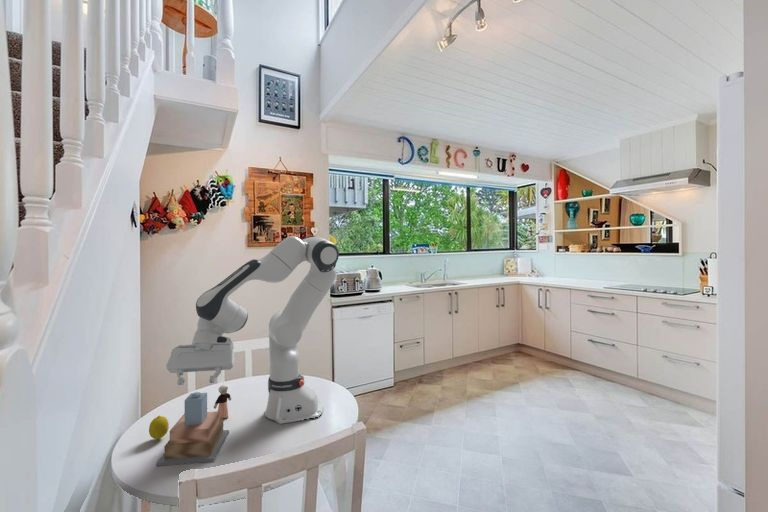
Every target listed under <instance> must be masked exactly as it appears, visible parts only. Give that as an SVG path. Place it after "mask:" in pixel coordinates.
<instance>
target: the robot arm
mask: <svg viewBox="0 0 768 512" xmlns="http://www.w3.org/2000/svg"><path fill="white" fill-rule="evenodd" d="M339 251H340V250H339V248H338V246H337V245H336V244H335V243H334V242H332V241H331V240H328V239H326V238H323V237H318V236H314V235H312V236H311V235H310V236H306V237H303V238H299V237H298V236H294V235H290V236H287V237H286V238H284V239H283V240H282V241H280V242H279V243H278V244H277V245H276V246H274V247H273V248H272V249H271V250H270V251H269V252H268V253H267V254H266V255H265V256H263V257H261V258H258V259H251V260H249V261H248V262H246V263H244V264H243V265H241V266H240V267H239V268H237V269H236V270H235V271H233V272H232V273H231V274H229V276H227V277H226V278H225V279H223V280H222V281H220V283H218V284H217V285H215V286H213V287H212V288H210V289H208V290H207V291H205V292H203V293H202V294H201V295H200V296H199V297H198V298H197V300H196V303H195V311H196V315H197V316H198V317H199V318H198V320H197V329H196V331H195V332H194V335H193V338H192V342H191V344H180V345H177V346H175V347H174V348H172V349H171V352H170V356H169V359H168V361H167V362H166V365H165V366H166V367H165V368H166V370H167V371H168V372H169V373H170V374H176V376H177V378H178V379H177V383H176V384H177V385H178V386H183V385H185V382H186V379H185V378H184V377H182V376H184V373H195V372H196V373H197V372H212V371H215V372H214V374H213V375H210V376H209V380H208V381H209V384H215V383H216V381H217V378H218V377H219V376H220V375H221V374H222V371H225V370H227V371H228V370H232V369H233V368H234V366H235V361H236V360H235V359H236V358H235V357H236V356H235V355H236V354H235V352H234V350H235V349H234V348H235V345H234V342H233V340H232V339H231V338H230V337H227V336H223V335H224V334H226V335H227V334H231V333H235V332H236V333H237V332H238V331H240V330H242V329H243V328H244V327H245V325H246V324H247V321H248V320H249V319H248V317H249V312H248V310H247V309H246V308H245V307H244V306H242V305H241V304H239V303H238V302H235V300H232V299H231V298H230V297H229V296H230V295H232V294H233V293H235V291H237V290H238V289H239V288H241V287H242V286H243V285H244V284H245V283H247V282H250V281H255V280H258V281H261V282H266V283H269V284H270V283H271V284H272V283H273V284H275V283H276V284H278V283H280V282H283V281H285V280H286V279H287V278H288V277H289V276H290V275H291V274H292V273H293V272H294V270H295V269H296V268H297V267H298V266H299V265H300V264H302V263H304V262H307V263H309V264H310V266H309V267H310V268H309V270H308V272H307V274H306V275H305V277H304V278H303V279H302V280H301V282H300V283H299V284H298V285H297V287H296V289H295V290H294V291H293V293H292V294H291V295H290V298H289V299H288V301H287V304H286V305H285V307H284V309H283V310H281V311H277V312H275V313H273V315H272V316H271V318H270V319H269V323H268V343H269V377H268V380H267V391H268V399H267V402H266V403H267V405H266V409H265V411H264V415H265V417H266V418H267V419H269V420H271V421H275V422H276V423H277V424H281V425H282V424H288V423H293V422H300V420H301V421H305V420H304V419H307V420H310V419H309V418H314V419H316V418H315V417H318V418H320V417H321V416H322V415H321V413H322V411H323V412H324V403H323V402H322V401H321V400H320V399H318V395H317V393H316V391H315V389H314V388H311V387H310V386H308V385H307V384H306V383H305V377H304V374H302V375H301V374H300V363H299V362H300V353H299V345H298V343H299V342H300V340H301V338H302V336H303V333H304V331H305V330H306V327H307V325H308V324H309V322H310V320H311V318H312V315H314V313H315V311H316V310H317V308H318V306H319V305H320V304H321V302H322V301H323V300H324V298H325V296H326V295H327V294H328V292H329V290H330V289H331V287H332V286H333V283H334V282H335V279H336V278H337V277H336V276H337V272H336V269H335V268H336V266H337V262H338V260H339V255H340V253H339ZM318 402H322V403H318ZM319 412H320V413H319ZM322 414H323V413H322ZM320 415H321V416H320ZM319 416H320V417H319Z"/></svg>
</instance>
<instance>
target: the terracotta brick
mask: <svg viewBox="0 0 768 512" xmlns="http://www.w3.org/2000/svg"><path fill="white" fill-rule="evenodd" d="M184 422H185V412H184V413H183V414H182V416H181V417H180V418H179V419H178V420H177V422H176V423H175V424H174V425H173V426H172V428H171V429H170V430H169V440H168V441H167V443H166V444H165V445H164V446H163V447H164V450H163V451H164V453H163V454H164V459H174V458H187V457H200V456H211V454H212V452H213V450H214V449H215V447H216V445H217V443H218V441H219V440H220V438H221V436H222V434H223V430H224V420H223V421H219V411H218V410H216V411H207V417H206V419H205V420H204V422H203V423H202V424H199V425H184Z"/></svg>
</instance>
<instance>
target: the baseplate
mask: <svg viewBox="0 0 768 512" xmlns="http://www.w3.org/2000/svg"><path fill="white" fill-rule="evenodd" d="M229 434H230V430H229V429H223V434H222V436H221V438H220V440H219V441H218V443H217V445H216V447H215V449H214V450H213V452H212V454H211V456H200V457H187V458H174V459H164V453H162V455H161V457H160V458H159V459H158V460H157V462H156V467H163V466H164V467H165V466H174V465H175V466H177V465H185V464H184V463H190V464H200V463H214V462H215V461H216V459H217V457H218V455H219V454H220V451H221V449H222V447H223V446H224V443H225V441H226V440H227V438H228V436H229Z"/></svg>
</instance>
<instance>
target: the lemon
mask: <svg viewBox="0 0 768 512" xmlns="http://www.w3.org/2000/svg"><path fill="white" fill-rule="evenodd" d="M169 425H170V424H169V420H168V419H167V418H166V417H165V416H163V415H158V416H156V417H155V418H153V419H152V420H151V422H150V423H149V427H148V433H149V436H150V437H151V438H152V439H155V440H158V441H159V440H160V439H162V438H163V437H164V436H165V435H167V433H168V431H169V428H170V426H169Z"/></svg>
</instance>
